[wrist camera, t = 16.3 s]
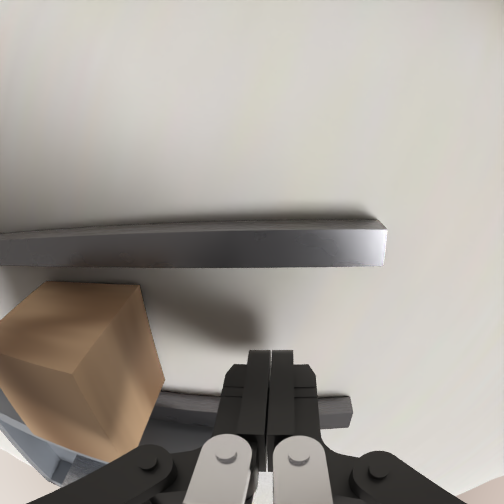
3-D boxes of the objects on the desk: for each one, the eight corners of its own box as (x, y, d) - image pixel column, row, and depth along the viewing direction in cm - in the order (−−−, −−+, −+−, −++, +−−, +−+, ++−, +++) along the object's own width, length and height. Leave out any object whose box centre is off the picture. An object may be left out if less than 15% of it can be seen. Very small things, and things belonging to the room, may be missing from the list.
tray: (245, 421, 14) (237, 478, 11) (254, 496, 18) (250, 533, 15) (2, 370, 16) (-22, 400, 13) (61, 454, 20) (47, 480, 17)
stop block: (137, 452, 15) (103, 543, 9) (154, 479, 17) (130, 557, 10) (85, 438, 16) (46, 517, 9) (107, 466, 17) (77, 537, 11)
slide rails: (378, 219, 10) (387, 229, 9) (346, 412, 13) (348, 427, 12) (-82, 242, 13) (-90, 247, 12) (-42, 346, 16) (-48, 352, 15)
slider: (139, 285, 11) (72, 374, 7) (164, 379, 13) (129, 467, 9) (37, 280, 12) (-32, 341, 7) (70, 364, 14) (24, 430, 9)
